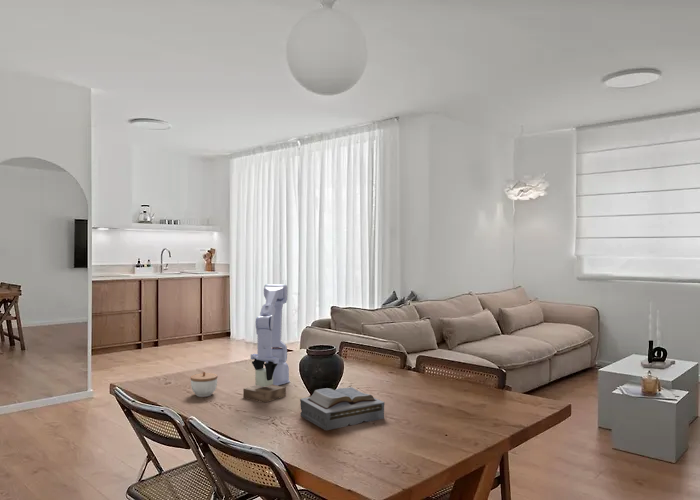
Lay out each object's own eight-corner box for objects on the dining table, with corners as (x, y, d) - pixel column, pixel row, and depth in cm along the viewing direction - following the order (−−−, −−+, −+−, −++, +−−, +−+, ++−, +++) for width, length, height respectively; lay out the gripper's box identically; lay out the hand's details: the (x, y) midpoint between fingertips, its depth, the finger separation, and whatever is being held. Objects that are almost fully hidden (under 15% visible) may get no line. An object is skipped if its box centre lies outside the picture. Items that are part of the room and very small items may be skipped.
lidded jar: (201, 399, 220) (201, 376, 220) (185, 395, 227) (185, 372, 227) (223, 394, 229) (222, 371, 229) (206, 390, 235) (206, 368, 235)
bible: (296, 413, 204) (296, 386, 204) (364, 405, 214) (364, 379, 214) (315, 433, 182) (315, 403, 182) (390, 423, 192) (390, 394, 192)
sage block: (264, 382, 228) (264, 367, 228) (273, 384, 225) (273, 369, 225) (255, 384, 224) (255, 370, 224) (264, 386, 221) (264, 371, 221)
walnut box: (265, 392, 233) (265, 382, 233) (285, 397, 226) (285, 387, 226) (243, 398, 224) (243, 388, 224) (264, 403, 216) (264, 393, 216)
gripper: (244, 344, 226) (245, 378, 226) (270, 348, 217) (270, 383, 217) (257, 342, 231) (257, 374, 232) (282, 346, 223) (282, 380, 223)
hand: (264, 378), depth 225 cm, fingers closed on sage block, 5 cm apart
